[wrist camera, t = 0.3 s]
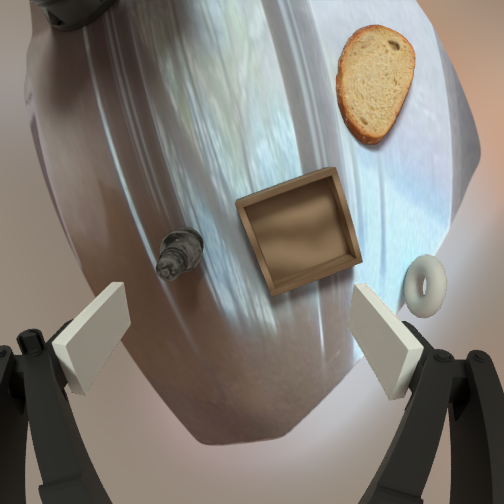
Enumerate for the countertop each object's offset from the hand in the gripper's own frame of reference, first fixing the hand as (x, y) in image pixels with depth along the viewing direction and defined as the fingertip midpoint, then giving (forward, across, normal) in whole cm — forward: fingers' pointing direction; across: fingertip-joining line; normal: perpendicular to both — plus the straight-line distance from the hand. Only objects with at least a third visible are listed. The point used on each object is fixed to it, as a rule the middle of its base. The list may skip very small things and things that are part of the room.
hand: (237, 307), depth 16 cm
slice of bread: (+26, +20, +23) cm, 40 cm away
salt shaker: (+26, -8, -4) cm, 28 cm away
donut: (+26, +28, -8) cm, 39 cm away
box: (+26, +8, -1) cm, 27 cm away
